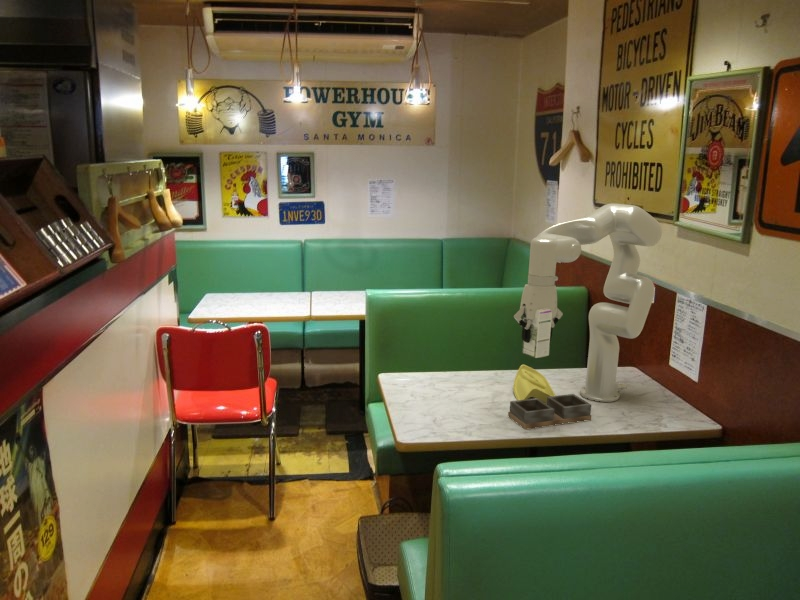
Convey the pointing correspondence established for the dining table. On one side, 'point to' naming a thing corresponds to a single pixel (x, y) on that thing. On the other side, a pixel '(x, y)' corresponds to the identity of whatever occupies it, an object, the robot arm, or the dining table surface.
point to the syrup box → (539, 334)
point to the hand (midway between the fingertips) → (536, 340)
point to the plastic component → (531, 385)
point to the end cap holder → (549, 411)
